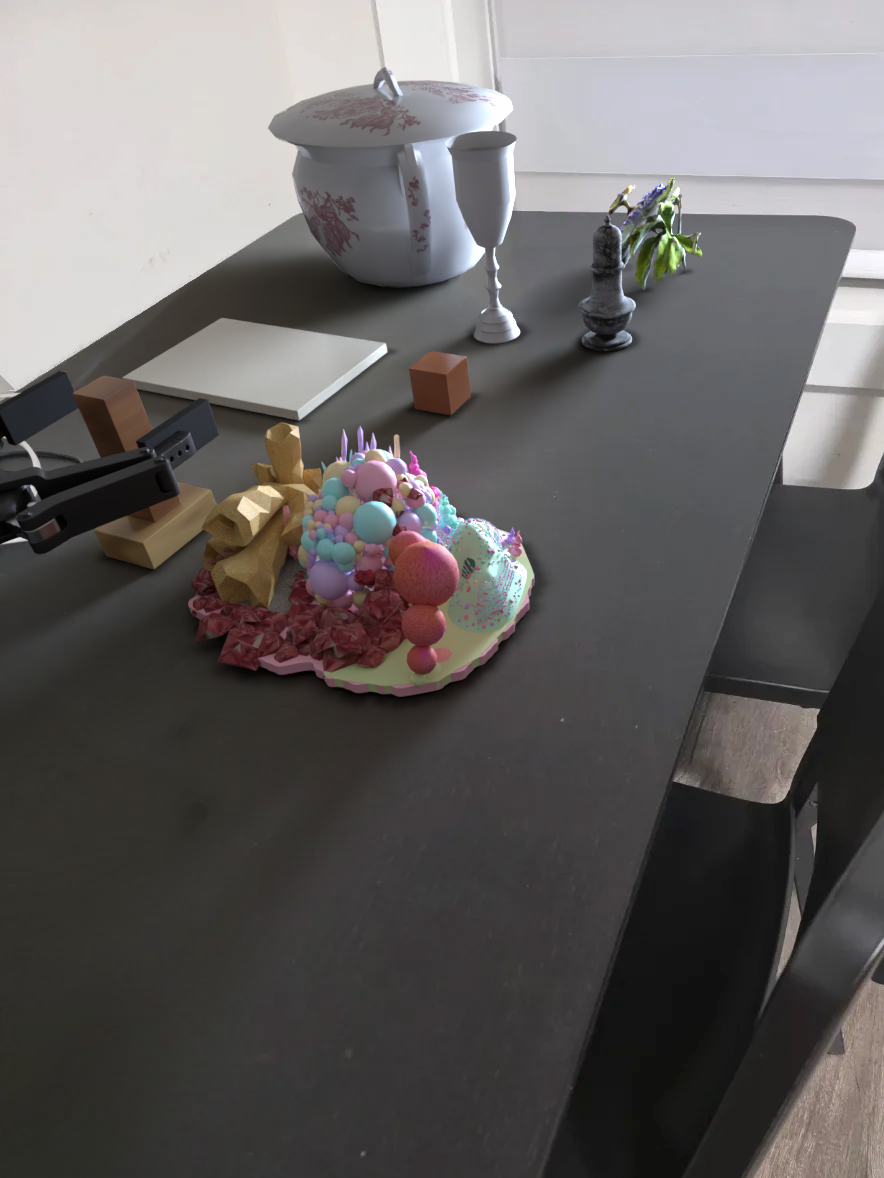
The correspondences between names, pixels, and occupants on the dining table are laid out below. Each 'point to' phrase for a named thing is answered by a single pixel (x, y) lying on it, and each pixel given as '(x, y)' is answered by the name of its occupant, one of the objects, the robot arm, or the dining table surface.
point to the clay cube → (440, 382)
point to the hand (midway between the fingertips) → (138, 401)
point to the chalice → (487, 213)
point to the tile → (258, 367)
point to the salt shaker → (607, 294)
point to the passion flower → (648, 220)
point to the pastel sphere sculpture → (356, 574)
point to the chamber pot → (388, 175)
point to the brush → (158, 527)
